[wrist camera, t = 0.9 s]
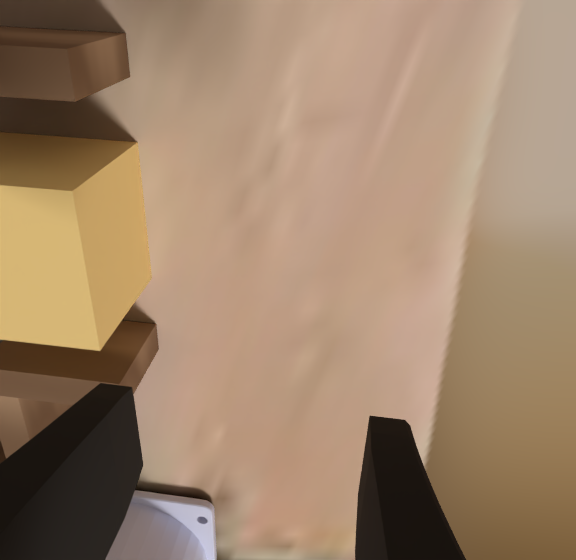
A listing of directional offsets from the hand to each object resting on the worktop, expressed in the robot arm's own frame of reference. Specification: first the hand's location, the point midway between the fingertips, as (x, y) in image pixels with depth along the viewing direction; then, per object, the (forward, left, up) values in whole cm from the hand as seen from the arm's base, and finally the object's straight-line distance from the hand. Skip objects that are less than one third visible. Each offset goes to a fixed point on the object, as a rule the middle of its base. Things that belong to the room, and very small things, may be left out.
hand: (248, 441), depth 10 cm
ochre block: (0, +8, -10) cm, 12 cm away
